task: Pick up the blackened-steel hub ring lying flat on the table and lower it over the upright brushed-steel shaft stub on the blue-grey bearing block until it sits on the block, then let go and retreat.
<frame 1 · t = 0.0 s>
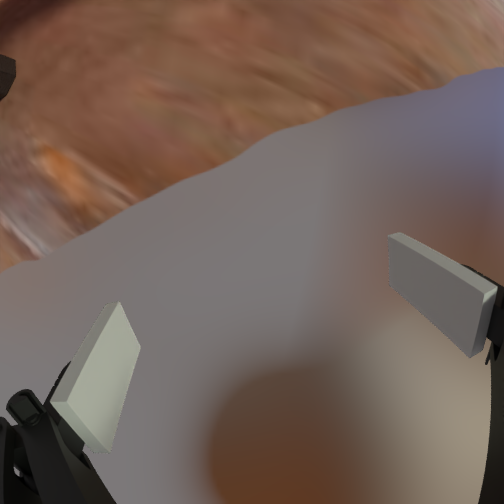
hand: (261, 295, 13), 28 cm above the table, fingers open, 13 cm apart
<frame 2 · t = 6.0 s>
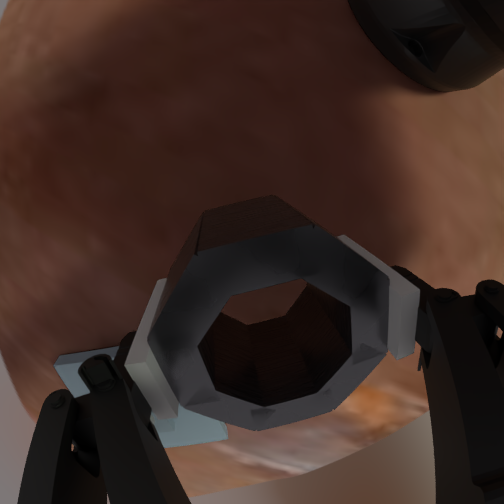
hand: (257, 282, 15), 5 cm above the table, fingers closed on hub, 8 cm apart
shaft block: (144, 398, 23), on the table
hub: (256, 279, 15), point 5 cm above the table, touching gripper
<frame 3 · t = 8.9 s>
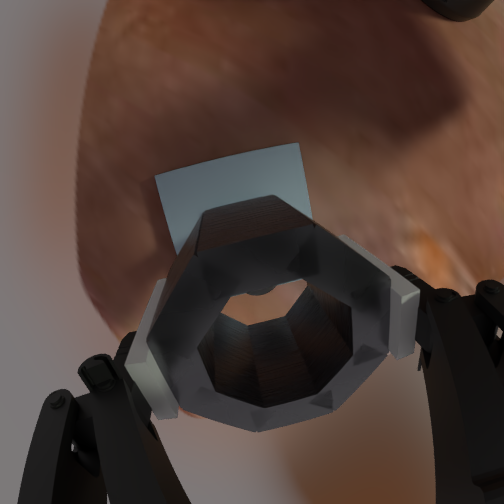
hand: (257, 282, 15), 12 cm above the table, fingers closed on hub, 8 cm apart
shaft block: (241, 223, 26), on the table
hub: (256, 280, 15), point 12 cm above the table, touching gripper
when the fingers open (3 cm above the table, at t = 11.7 s): hub stays where it is, resting on shaft block.
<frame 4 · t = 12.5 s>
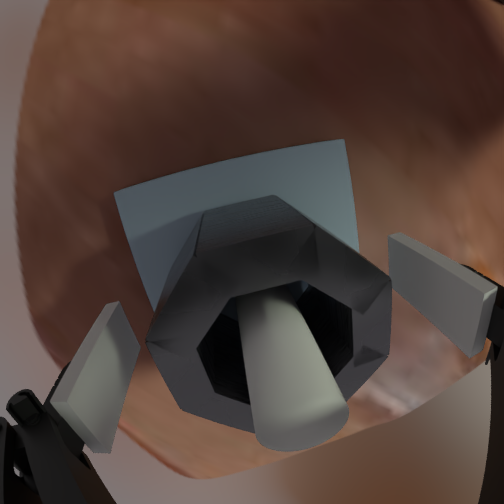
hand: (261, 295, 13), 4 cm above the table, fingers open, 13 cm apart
shaft block: (251, 263, 17), on the table
hub: (257, 280, 15), point 2 cm above the table, touching shaft block
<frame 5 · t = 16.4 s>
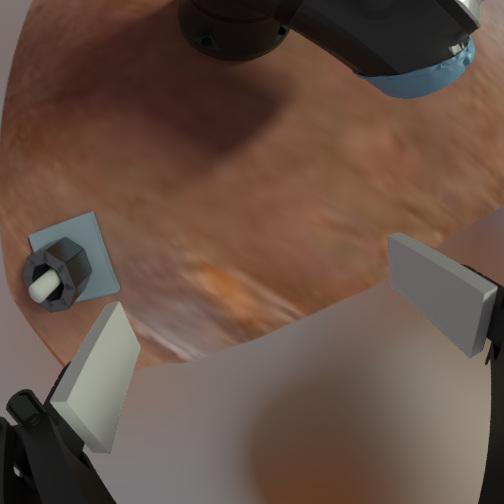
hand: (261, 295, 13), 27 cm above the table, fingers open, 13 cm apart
shaft block: (73, 260, 38), on the table
hub: (66, 265, 36), point 2 cm above the table, touching shaft block
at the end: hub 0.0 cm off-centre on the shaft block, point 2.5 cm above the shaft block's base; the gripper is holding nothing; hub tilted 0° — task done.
